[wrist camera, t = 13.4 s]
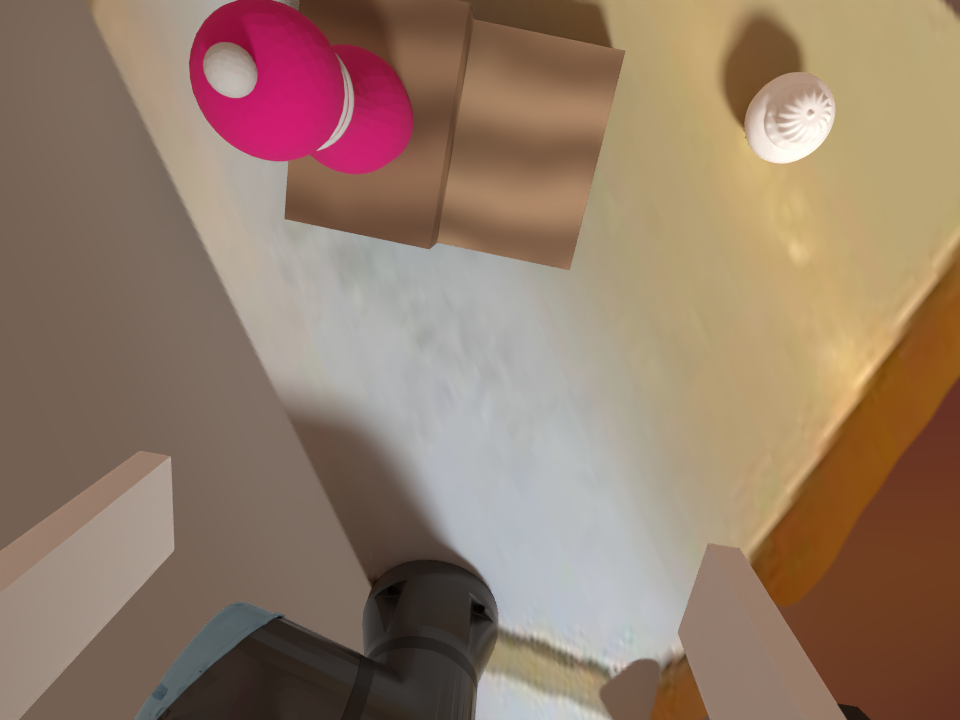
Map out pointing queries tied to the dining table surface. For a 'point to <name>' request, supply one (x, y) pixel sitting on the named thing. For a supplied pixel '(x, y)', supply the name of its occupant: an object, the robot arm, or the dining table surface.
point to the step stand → (468, 133)
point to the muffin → (789, 117)
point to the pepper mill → (296, 90)
